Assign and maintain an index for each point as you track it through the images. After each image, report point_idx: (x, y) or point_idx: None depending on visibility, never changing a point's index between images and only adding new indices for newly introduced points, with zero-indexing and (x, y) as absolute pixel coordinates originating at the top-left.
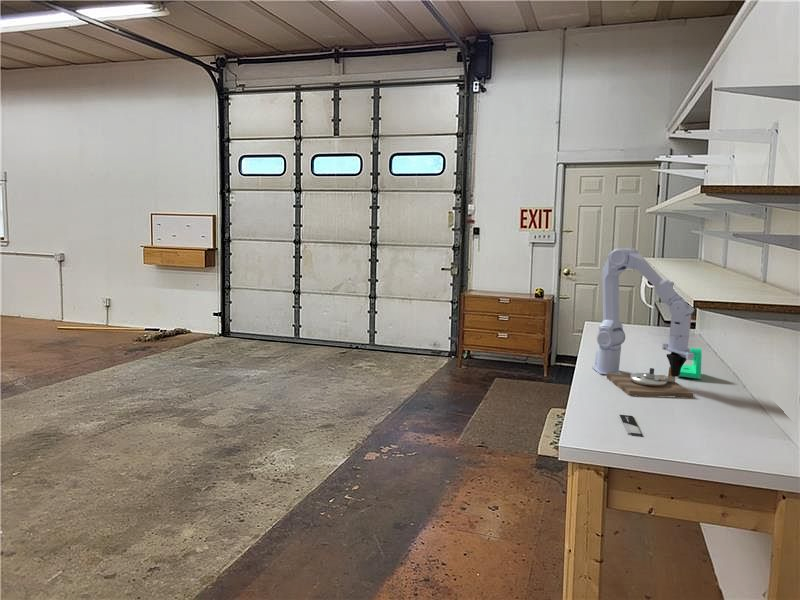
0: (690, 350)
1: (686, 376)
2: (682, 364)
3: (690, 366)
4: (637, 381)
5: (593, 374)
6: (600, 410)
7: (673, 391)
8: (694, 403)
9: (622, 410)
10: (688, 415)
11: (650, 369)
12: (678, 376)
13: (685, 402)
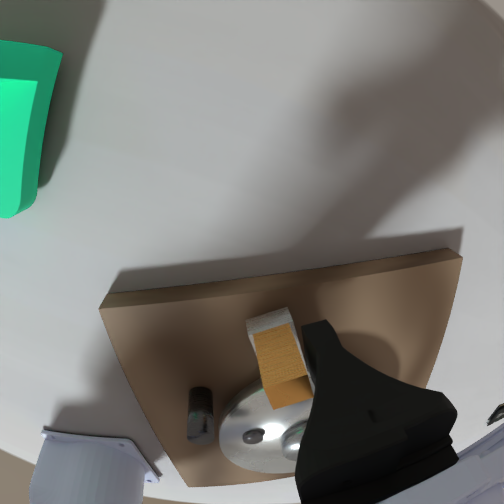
0: (479, 462)
1: (40, 145)
2: (381, 377)
3: None
4: None
5: (163, 486)
6: (455, 448)
7: (431, 339)
8: (491, 267)
9: (468, 426)
10: None
11: (207, 440)
12: (327, 321)
13: (479, 297)
